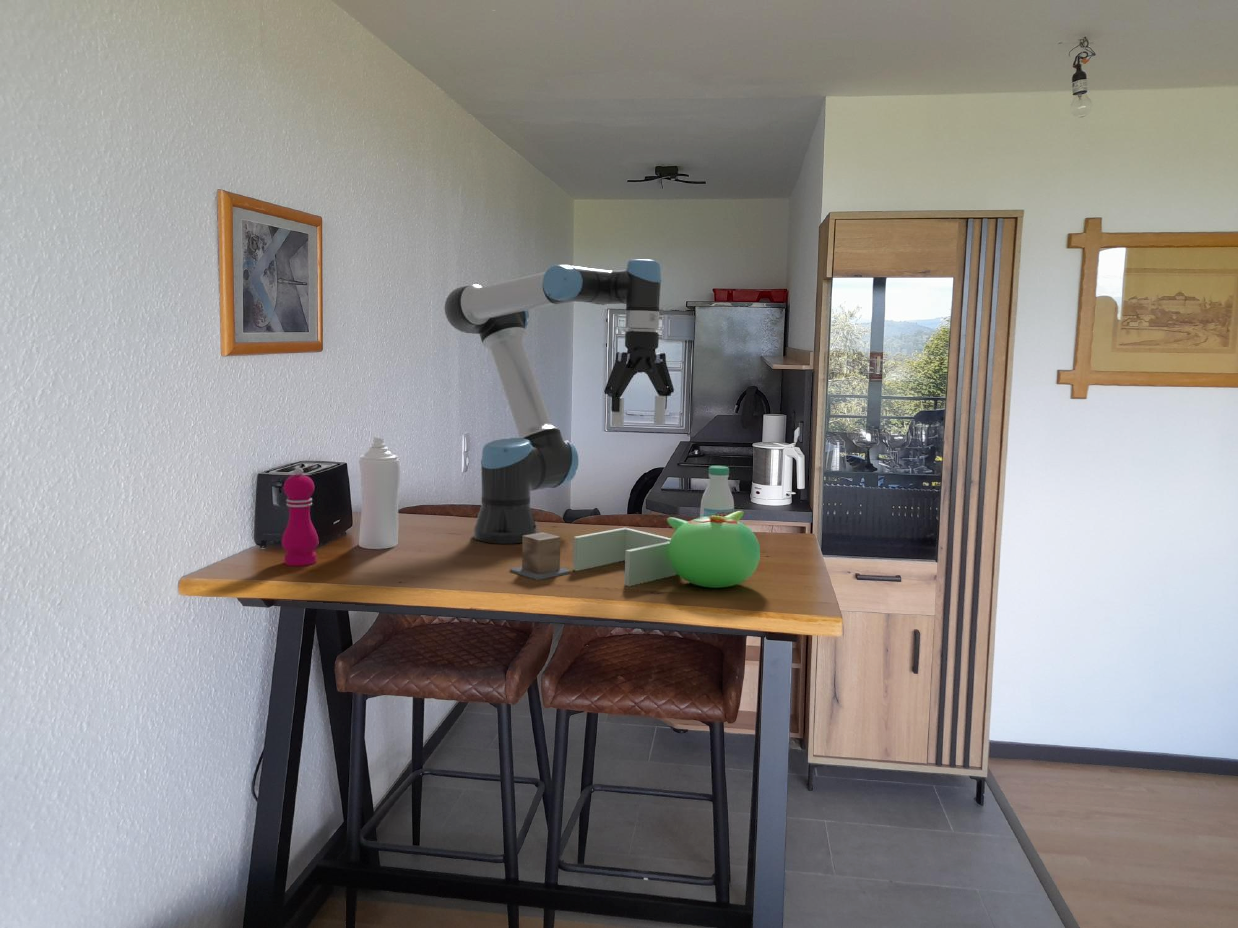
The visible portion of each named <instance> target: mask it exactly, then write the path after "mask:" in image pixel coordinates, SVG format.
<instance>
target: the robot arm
mask: <svg viewBox="0 0 1238 928" xmlns="http://www.w3.org/2000/svg"><path fill="white" fill-rule="evenodd" d="M661 272H662V271H661V264H660V262H658V261H657V260H654V259H630V260H628V262H627V264H626V268H625V269H624V270H611V269H610V270H608V269H607V270H606V269H601V268H600V269H599V268H590V267H589V268H588V267H583V266H575V265H570V264H554V265H551V266H550V267H549V268H548V269H547V270H546V271H543V272H540V273H535V274H531V275H527V276H523V277H519V278H514V279H509V280H505V281H501V282H500V281H499V282H496V283H493V284H492V283H491V284H488V285H484V286H481V285H479V284H470V285H464V286H460V287H457V288H455V289H453V290H452V291H451V292H450V293H449V294H448V295H447V297H446V300H445V303H444V314H445V318H446V320H447V321H448V323H449V325H451V327H453V328H454V329H455V330H457V331H459V332H462V333H465V334H473V335H474V334H478V335H479V337H480V340H481V343H482V346H483V347H484V348H485V349H488V350H490V352H491V354H492V357H493V360H494V363H495V366H496V370H497V373H498V375H499V378H500V381H501V384H502V387H503V390H504V393H505V397H506V399H507V402H508V405H509V409H510V412H511V415H512V417H513V421H514V424H515V427H516V429H517V430H516V431H517V432H518V436H517V437H511V438H510V437H509V438H500V439H496V440H492V441H489V442H487V443H486V444H485V445H484V446H483V447H482V451H481V454H482V455H481V460H480V465H481V466H480V467H481V503H480V504H481V505H480V509H479V512H478V514H477V517H476V522H475V525H474V527H473V538H474V539H475V540H476V541H477V540H478V541H480V542H483V543H488V544H490V543H491V544H501V545H502V544H505V545H506V544H521V543H522V538H523V536H524V535H530V534H536V533H538V527H537V525H536V520H535V516H534V513H533V509H532V507H531V492H532V491H537V490H538V491H539V490H545V489H546V490H547V489H555V488H558V487H561V486H564V485H567V484H569V483H570V482H571V481H572V480H573V479H574V478H575V476H576V475H577V474H576V472H577V470H578V467H579V453H578V450H577V448H576V446H575V445H574V444H573V443H572V442H571V441H570V440H567V439H564V438H563V436H562V432H561V430H560V428H559V427H557V426H555V425H553V424H552V423H551V419H550V416H549V413H548V410H547V408H546V404H545V401H544V398H543V395H542V393H541V389H540V386H539V383H538V381H537V378H536V375H535V374H536V373H535V372H534V369H533V366H532V363H531V361H530V358H529V354H528V352H527V348H526V346H525V343H524V338H525V337H526V335H527V330H526V328H527V327H528V325H529V320H528V318H530V311H531V310H535V309H540V308H545V307H550V306H555V305H561V304H565V303H571V302H580V303H590V304H592V305H600V306H601V305H602V306H604V305H615V304H616V305H617V304H618V305H620V304H623V305H625V329H627V331H625V333H624V347H625V348H626V349H627V351H617V352H616V354H615V361H614V364H613V367H612V369H611V371H610V374H609V377H608V380H607V383H606V385H605V387H604V394H605V395H607V396H608V397H611V402H610V403H611V406H610V408H611V409H610V410H611V412H612V423H611V424H612V426H611V427H616V428H624V417H625V415H624V414H625V397H622V395H624V393H625V390H626V389H627V388H628V385H629V384H630V383H631V381H632V380H633V378H634V376H635V375H637V374H638V373H640V374H642V373H644V374H646V375H647V378H648V379H649V381H650V382H651V385H652V387H653V388H654V389H655V391H656V393H657V395H654V410H653V411H654V416H653V417H654V418H653V419H654V420H653V423H654V424H656V425H666V410H667V406H668V405H667V404H668V397H670V396H671V395H672V393H674V391H675V388H674V385H673V381H672V379H671V376H670V375H671V374H670V372H669V368H668V364H667V357H666V353H665V352H656V350H657V349H658V348H659V343H660V342H659V339H660V338H659V337H660V336H659V335H660V334H659V333H658V332H657V330H660V329H659V328H660V327H659V326H660V300H661V299H660V297H661V284H662V279H661V277H662V276H661V275H662V274H661Z"/></svg>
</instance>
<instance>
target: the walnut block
mask: <svg viewBox="0 0 1238 928" xmlns="http://www.w3.org/2000/svg"><path fill="white" fill-rule="evenodd" d="M521 546H522V549H521V552H522V553H521V558H522V559H521V560H522V561H521V566H522V569H524V570H527V571H530V572H533V573H536V574H544V573H549V572H553V571H558V570H560V567H561V536H559V535H555V534H551V533H547V532H543V531H542V532H537V533H536V534H530V535H524V536H523V538H522V544H521Z"/></svg>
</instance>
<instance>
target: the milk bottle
mask: <svg viewBox="0 0 1238 928" xmlns="http://www.w3.org/2000/svg"><path fill="white" fill-rule="evenodd" d="M729 474H730V468H729V467H728V466H726V465H724V466H723V465H711V466H709V467H708V477H709V480H708V483H707V486H706V488H705V490H704V492H703V494H702V497H701V501H700V510H699V517H704V516H708V517H710V516H722V517H725V516H727V515H729V514H731V513H734V512H735V503H734V502H735V501H734V496H733V494H732V491H731V489H730V485H729V481H728V480H729V479H728V478H729V477H730V475H729Z"/></svg>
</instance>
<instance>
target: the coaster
mask: <svg viewBox="0 0 1238 928" xmlns="http://www.w3.org/2000/svg"><path fill="white" fill-rule="evenodd" d="M572 570H573V569H568V568H566V567H561V566H560V570H558V571H553V572H549V573H544V574H536V573H533V572H530V571H527V570H524V569H522V565H521V566H516V567H512V568H509V571H510V572H511V573H514V574H518V575H521V576H524V577H527V578H530V579H533V580H536V581H540V580H544V579H549V578H554V577H558V576H563V575H567V574H572V572H573V571H572Z"/></svg>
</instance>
